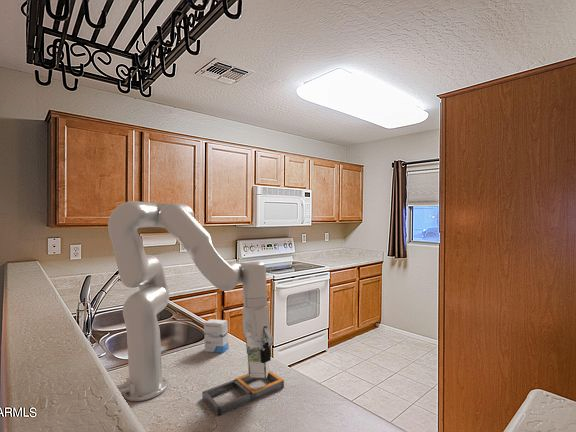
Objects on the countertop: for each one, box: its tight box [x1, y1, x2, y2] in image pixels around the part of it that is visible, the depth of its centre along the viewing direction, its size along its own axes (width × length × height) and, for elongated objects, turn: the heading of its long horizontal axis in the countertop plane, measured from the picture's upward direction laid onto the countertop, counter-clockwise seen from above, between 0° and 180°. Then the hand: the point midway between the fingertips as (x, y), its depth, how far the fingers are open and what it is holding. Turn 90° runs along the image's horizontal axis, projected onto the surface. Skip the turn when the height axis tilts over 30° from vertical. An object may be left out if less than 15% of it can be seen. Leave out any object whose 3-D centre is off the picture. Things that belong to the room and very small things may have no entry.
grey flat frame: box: [201, 369, 285, 417], centre depth 96 cm, size 22×11×2 cm, turn 126°
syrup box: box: [246, 331, 270, 379], centre depth 100 cm, size 6×6×14 cm
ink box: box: [203, 318, 230, 354], centre depth 129 cm, size 8×5×12 cm, turn 71°
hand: (258, 356), depth 100 cm, fingers closed on syrup box, 8 cm apart
